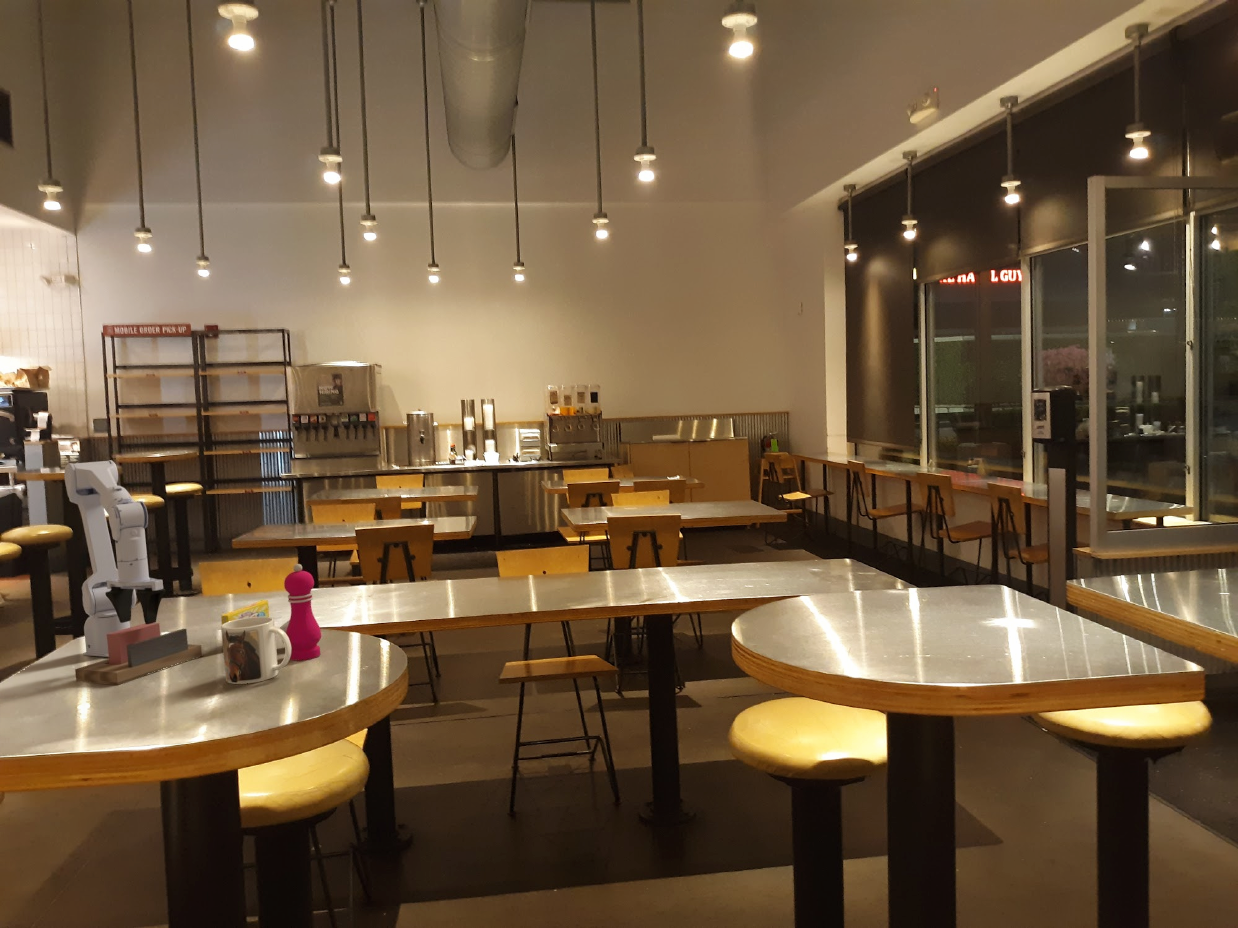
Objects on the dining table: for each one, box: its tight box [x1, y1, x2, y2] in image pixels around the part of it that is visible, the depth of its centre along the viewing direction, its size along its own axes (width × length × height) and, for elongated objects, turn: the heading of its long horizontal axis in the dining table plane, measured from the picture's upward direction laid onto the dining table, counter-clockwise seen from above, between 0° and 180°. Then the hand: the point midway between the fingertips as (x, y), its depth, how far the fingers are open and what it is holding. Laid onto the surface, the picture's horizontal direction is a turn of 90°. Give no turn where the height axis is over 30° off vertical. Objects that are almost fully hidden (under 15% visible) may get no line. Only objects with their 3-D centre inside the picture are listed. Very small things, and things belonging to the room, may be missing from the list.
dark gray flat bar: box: [126, 628, 189, 668], centre depth 197 cm, size 1×14×4 cm, turn 157°
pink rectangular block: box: [107, 622, 161, 665], centre depth 199 cm, size 4×10×8 cm, turn 157°
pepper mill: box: [283, 563, 322, 661], centre depth 200 cm, size 7×7×20 cm
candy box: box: [220, 600, 270, 626], centre depth 217 cm, size 16×2×8 cm, turn 168°
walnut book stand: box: [74, 643, 203, 686], centre depth 199 cm, size 12×21×2 cm, turn 157°
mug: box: [220, 616, 292, 685], centre depth 186 cm, size 10×12×11 cm
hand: (138, 622), depth 201 cm, fingers open, 7 cm apart
